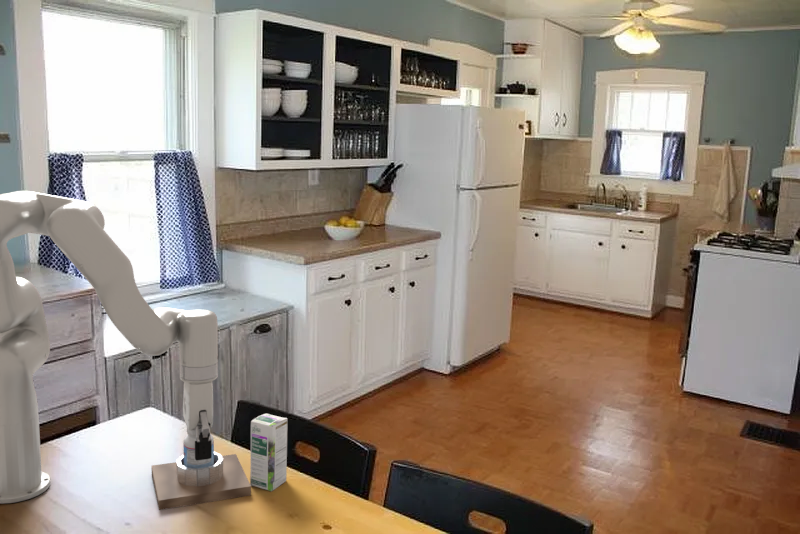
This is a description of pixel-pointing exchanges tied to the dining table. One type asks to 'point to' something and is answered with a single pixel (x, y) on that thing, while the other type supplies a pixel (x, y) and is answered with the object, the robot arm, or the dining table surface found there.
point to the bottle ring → (199, 472)
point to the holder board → (182, 495)
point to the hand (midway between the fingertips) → (199, 449)
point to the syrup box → (268, 451)
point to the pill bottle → (190, 451)
